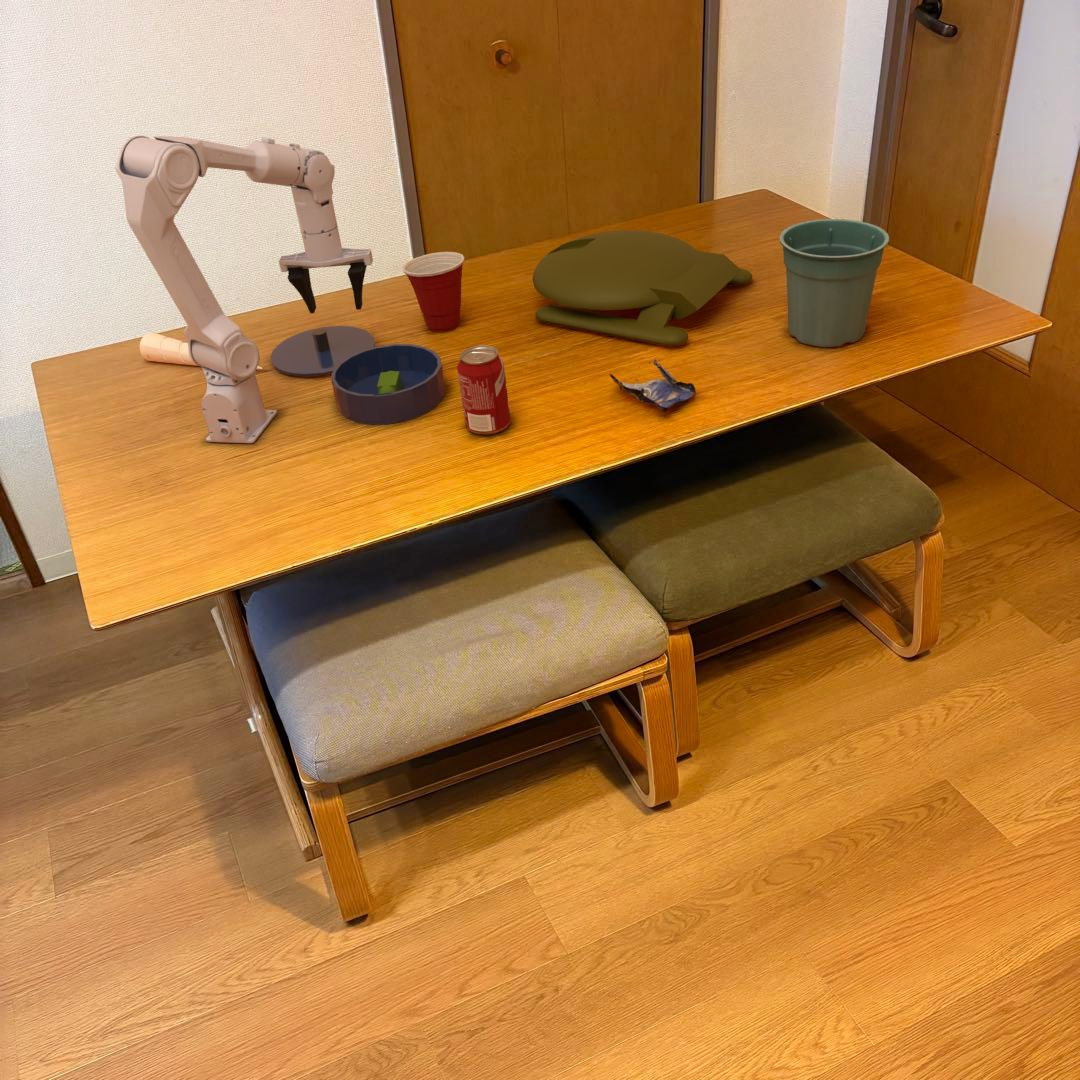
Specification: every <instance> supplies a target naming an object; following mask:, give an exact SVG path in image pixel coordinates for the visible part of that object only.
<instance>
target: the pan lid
mask: <svg viewBox="0 0 1080 1080" xmlns="http://www.w3.org/2000/svg"><path fill="white" fill-rule="evenodd" d="M373 347H376V339H375V336H374V335H373V334H372V333H371V332H369V331H368V330H366V329H363V328H360V327H356V326H351V325H350V326H349V325H328V326H322V327H316V328H311V329H307V330H304V331H302V332H299V333H296V334H294V335H292V336H290V337H289V336H288V338H286V339H284V340H283V341H281V342H279V344H278V345H277V344H276V346H275V348H274V349H273V350H272V352H271V353H270V363H271V365H272V367H274V369H275V370H277V371H278V372H280V373H282V374H285V375H289V376H295V377H319V376H326V375H330V374H331V375H332V372H333V370H334V369H335V368H336V366H337V365H338V364H339V363H340V362H342V361H343V360H344V359H346V358H347V357H349V356H351V355H353V354H356V353H358V352H360V351H362V350H366V349H370V348H373Z"/></svg>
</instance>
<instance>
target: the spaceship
mask: <svg viewBox="0 0 1080 1080" xmlns="http://www.w3.org/2000/svg"><path fill="white" fill-rule="evenodd" d="M752 280H753V274H752V273H751V272H750V271H749V270H748V269H744V268H740V267H739V266H738V265H736V264H735V262H733V261H732V260H731V259H730V258H729V257H727V256H726V255H725V254H723V253H716V252H709V251H702V250H697V249H696V248H695V247H694V246H692V244H689V243H687V242H686V241H684V240H682V239H680V238H678V237H675V236H671V235H669V234H664V233H660V232H655V231H650V230H649V231H648V230H639V229H638V230H635V229H633V230H632V229H624V230H623V229H622V230H609V231H602V232H596V233H591V234H587V235H584V236H580V237H577V238H575V239H572V240H570V241H568V242H565V243H563V244H561V245H560V246H558V247H557V248H555V249H552V250H551V251H550V252H548V253H547V254H546V255H545V256H543V258H541V259H540V261H539V262H538V263H537V265H536V266H535V269H534V270H533V274H532V284H533V287H534V289H535V290H536V292H537V293H538V294H539V295H541V296H542V297H544V298H545V299H547V300H549V301H551V302H553V303H556V304H559V305H556V304H546V305H543V306H540V307H538V309H537V310H536V311H535V312H534V316H535V319H536V320H537V321H538V322H539V323H543V324H547V325H553V326H557V327H563V328H568V329H572V330H573V329H574V330H578V331H583V332H584V331H585V332H590V333H596V334H598V335H599V334H600V335H605V336H609V337H616V338H619V339H626V340H632V341H635V342H636V341H637V342H642V343H646V344H652V345H657V346H662V347H666V348H669V347H670V348H674V347H675V348H676V347H680V346H683V345H685V344H686V343H687V342H688V340H689V333H688V331H686V329H684V328H683V327H678V326H672V325H669V323H670V321H671V319H675V320H683V319H684V318H685V317H688V316H690V315H691V314H693V313H695V312H697V311H699V310H700V309H701V308H703V306H704V305H706V304H707V303H708V302H709V301H710V300H712V298H713V297H714V296H716V294H718V293H719V292H720V291H721V290H722V289H723V288H724V287H726V286H731V287H743V286H747V285H748V284H749V283H750V282H751V281H752ZM633 309H638V310H639V311H640V313H639V315H638V317H637V319H634V318H629V317H624V316H617V315H613V314H607V313H600V312H595V311H620V310H633Z"/></svg>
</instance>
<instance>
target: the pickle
mask: <svg viewBox="0 0 1080 1080" xmlns="http://www.w3.org/2000/svg"><path fill="white" fill-rule="evenodd" d="M377 389H378V394H385V393H392V392H397V391H400V390H401V389H402V383H401V378H400V372H399V371H396V372H395V371H388V372H382V373H381V374H380V377H379V381H378V384H377Z"/></svg>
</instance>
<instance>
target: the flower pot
mask: <svg viewBox="0 0 1080 1080" xmlns="http://www.w3.org/2000/svg"><path fill="white" fill-rule="evenodd" d="M889 241H890V235H889V234H888V232H886V230H885V229H883V228H882V227H880V226H877V225H875V224H872V223H870V222H869V223H868V222H865V221H860V220H855V219H845V218H823V219H822V218H821V219H813V220H807V221H806V220H805V221H802V222H799V223H798V222H797V223H795V224H793V225H790V226H788V227H786V228H785V229H784V230H783V231H781V233H780V234H779V243H780V245H781V246H782V251H783V264H784V266H785V273H786V274H785V275H786V276H785V277H786V300H787V301H786V302H787V303H786V304H787V306H786V307H787V327H788V328H787V331H788V334H789V335H790V337H793V338H795V339H796V340H797V341H798V342H799V343H801V344H804V345H808V346H812V347H818V348H836V347H842V346H843V345H844V344H846V343H849V344H853V343H857V341H859V340H861V339H862V337H863V336H864V334H865V331H866V326H867V322H868V316H869V311H870V307H871V301H872V296H873V292H874V288H875V282H876V278H877V274H878V269H879V267H880V266H881V264H882V260H883V255H884V251H885V248H886V247H887V246H888V244H889Z"/></svg>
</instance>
